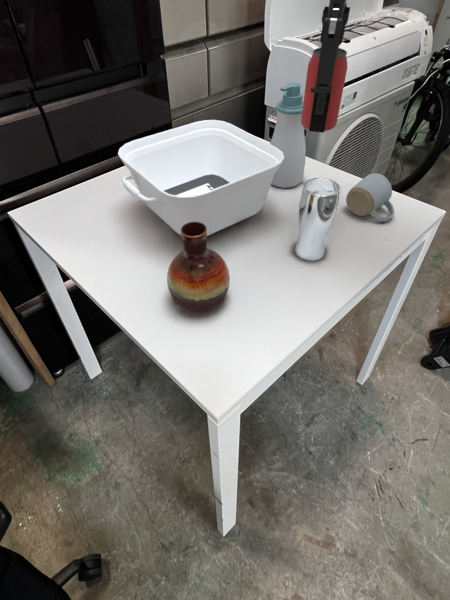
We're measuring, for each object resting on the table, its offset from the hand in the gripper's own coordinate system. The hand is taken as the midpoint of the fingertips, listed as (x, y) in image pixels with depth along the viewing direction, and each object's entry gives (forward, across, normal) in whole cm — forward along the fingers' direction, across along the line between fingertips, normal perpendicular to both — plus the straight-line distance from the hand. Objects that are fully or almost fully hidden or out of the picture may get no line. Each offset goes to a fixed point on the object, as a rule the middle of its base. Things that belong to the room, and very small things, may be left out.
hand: (318, 123), depth 70 cm
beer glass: (+22, -11, -3) cm, 25 cm away
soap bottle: (+22, +18, +7) cm, 29 cm away
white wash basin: (+22, -2, +23) cm, 32 cm away
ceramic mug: (+22, +8, -15) cm, 28 cm away
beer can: (+1, 0, 0) cm, 1 cm away
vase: (+22, -29, +15) cm, 40 cm away
